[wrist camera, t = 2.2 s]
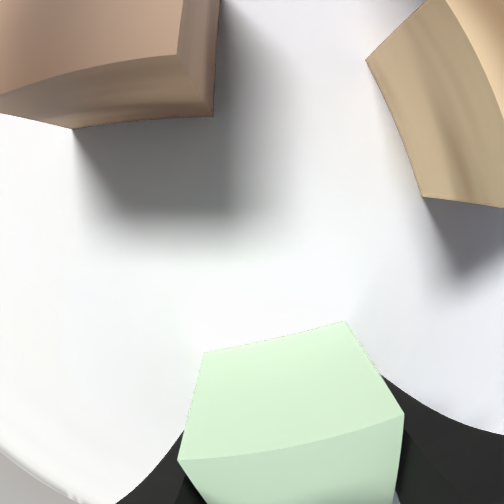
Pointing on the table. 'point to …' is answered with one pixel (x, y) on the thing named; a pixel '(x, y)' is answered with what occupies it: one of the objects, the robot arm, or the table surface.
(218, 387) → the sage painted block
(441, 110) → the oak block
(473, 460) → the robot arm
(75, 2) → the walnut block
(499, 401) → the table surface
